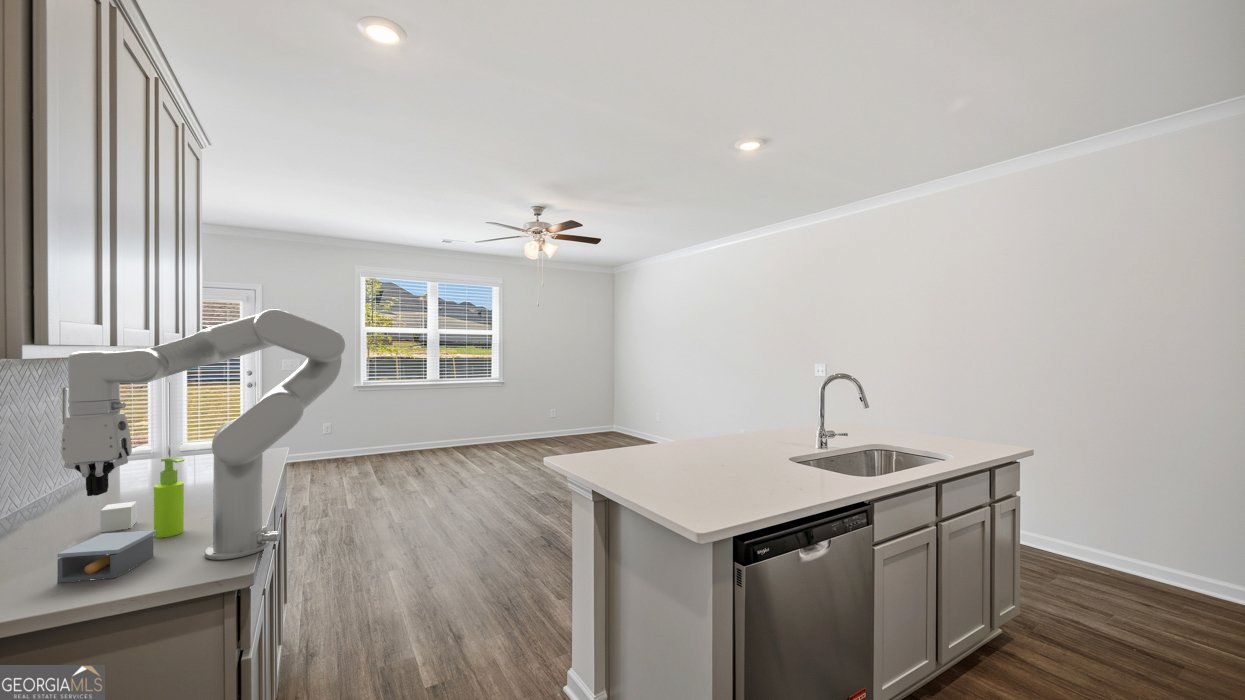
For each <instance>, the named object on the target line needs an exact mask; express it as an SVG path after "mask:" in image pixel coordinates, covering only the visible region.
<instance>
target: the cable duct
mask: <svg viewBox="0 0 1245 700" xmlns="http://www.w3.org/2000/svg"><path fill="white" fill-rule="evenodd" d="M152 556H153V557H154V535H153V536H151V537H149V538H147V539H145V540H143V541H141V542H139V543H137V544H135V545H133V546H131V547H129V548H128V549H126V550H124V551H122V552H120V553H116V554H102V555H87V556H73V557H59V558H57V579H56V580H57V584H62V583H61V582H65V583H71V582H70V581H77V582H80V581H79V580H90V579H102V580H106V579H105V578H115V577H117V576H118V577H120V576H122V575H123V574H125V573H127V572H129V571H130V570H132V569H134V568H136V567H137V566H139V565H141V564H143V563H144V562H146V561H148V560H149V559H151V558H153V557H152ZM150 557H151V558H150ZM147 559H148V560H147ZM145 560H146V561H145ZM140 563H141V564H140ZM138 564H139V565H138ZM136 565H137V566H136ZM135 566H136V567H135ZM133 567H134V568H133ZM131 568H132V569H131ZM129 569H130V570H129ZM128 570H129V571H128ZM126 571H127V572H126ZM124 572H125V573H124ZM121 574H122V575H121ZM119 575H120V576H119ZM118 577H117V578H118ZM103 578H104V579H103ZM115 579H116V578H115ZM90 581H91V580H90Z"/></svg>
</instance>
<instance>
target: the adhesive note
mask: <svg viewBox="0 0 1245 700" xmlns="http://www.w3.org/2000/svg"><path fill="white" fill-rule="evenodd" d="M136 522H137V523H138V501H137V500H136V501H128V502H119V503H118V502H117V503H111V504H106V505H105V506H104V507H103V508H102V509H100V523H99V525H100V529H99V530H100V532H99V533H100V534H102V533H110V532H116V531H122V529H123V530H128V528H131V529H132V528H133V527H134V526H135V525H136V524H137V523H136ZM135 523H136V524H135ZM134 524H135V525H134ZM133 525H134V526H133Z"/></svg>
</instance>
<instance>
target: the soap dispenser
mask: <svg viewBox="0 0 1245 700" xmlns="http://www.w3.org/2000/svg"><path fill="white" fill-rule="evenodd" d="M184 461H185V459H183V458H181V457H167V458H161V459H160V462H164V469H163V470H162V471H160V477H159V478H160V483H157V484H155V485H154V486H153V530H157V531H156V534H155V535H153V538H155V537H156V539H163V537H164V538H169V537H174V536H177V535H180V534H182V533H184V522H185V521H184V513H185V512H184V511H185V510H184V505H185V504H184V500H185V499H184V498H185V497H184V496H185V495H184V491H185V490H184V489H185V488H184V487H185V485H184V483H185V482H184V481H179V480H178V469H175V468H174V463H175V464H176V463H177V464H178V463H182V462H184Z"/></svg>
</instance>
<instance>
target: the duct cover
mask: <svg viewBox="0 0 1245 700" xmlns="http://www.w3.org/2000/svg"><path fill="white" fill-rule="evenodd" d="M156 531H157V530H154V529H153V530H139V531H137V530H134V531H120V532H119V531H118V532H101V533H100V534H97V535H96V536H93V537H92V538H89V539H87V540H85V541H83V542H80V543H79V544H76V545H74V546H72V547H69V548H67V549H64V550H63V551H60V552H59V553H58V552H57V559H59V558H61V557H73V556H87V555H102V554H107V555H109V554H116V553H120V552H122V551H124V550H126V549H128V548H129V547H131V546H133V545H135V544H137V543H139V542H141V541H143V540H145V539H147V538H149V537H151V536H153V537H154V535H155V534H156Z"/></svg>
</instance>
